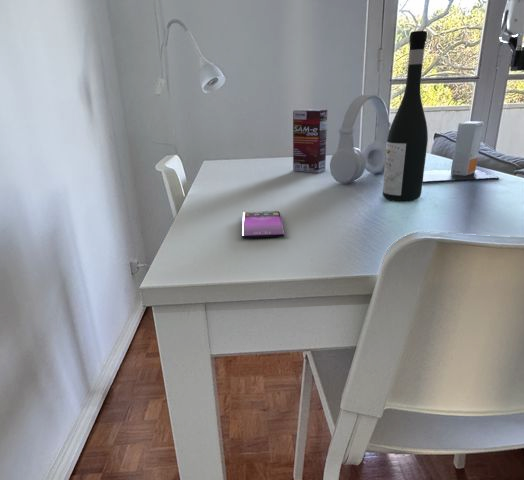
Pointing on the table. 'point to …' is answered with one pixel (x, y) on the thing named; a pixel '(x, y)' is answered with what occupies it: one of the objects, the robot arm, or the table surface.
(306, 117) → the supplement box
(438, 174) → the mat
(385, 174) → the wine bottle
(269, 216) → the smartphone
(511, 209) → the table surface
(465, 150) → the cosmetic box
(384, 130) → the headphones
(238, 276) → the table surface
